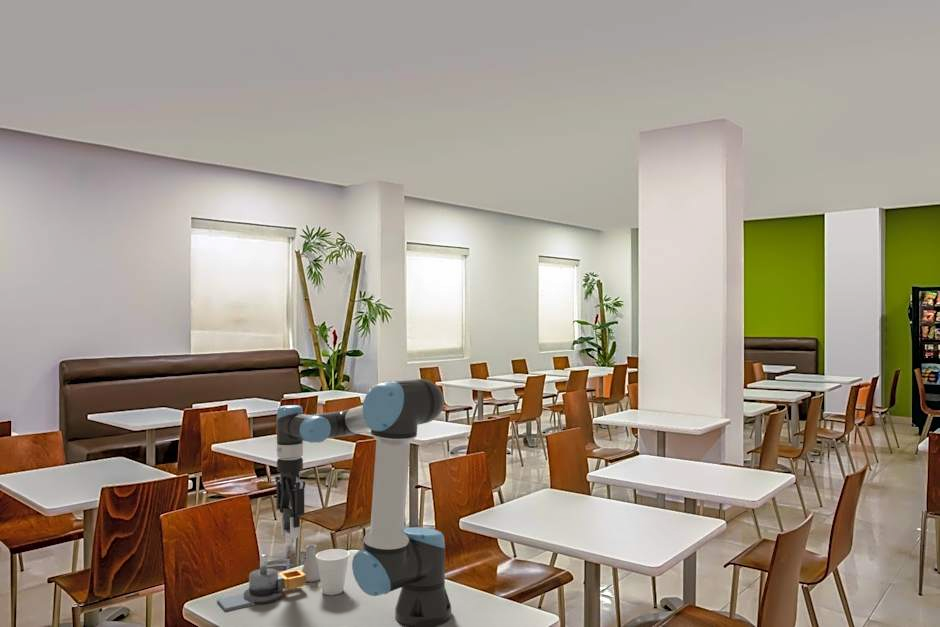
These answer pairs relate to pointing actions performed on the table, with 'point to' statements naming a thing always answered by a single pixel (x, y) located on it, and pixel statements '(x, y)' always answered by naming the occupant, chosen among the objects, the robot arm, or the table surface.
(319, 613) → the table surface
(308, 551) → the flask
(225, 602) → the key mat
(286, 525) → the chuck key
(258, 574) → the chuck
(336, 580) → the cup
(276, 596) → the dark grey disc
